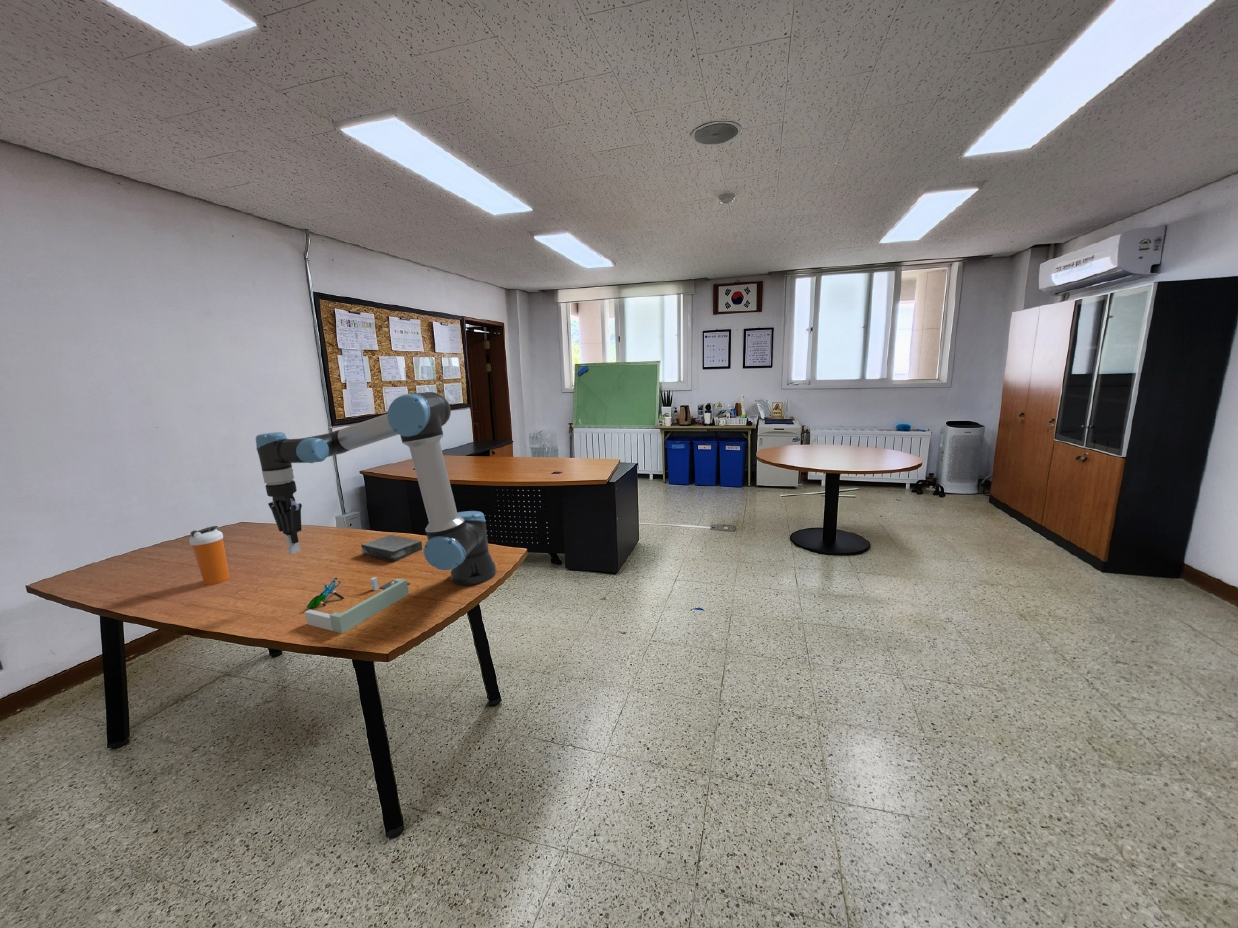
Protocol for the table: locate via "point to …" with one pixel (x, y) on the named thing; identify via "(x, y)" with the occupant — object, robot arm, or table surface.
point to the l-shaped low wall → (324, 619)
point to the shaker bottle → (210, 555)
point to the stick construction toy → (321, 596)
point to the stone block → (391, 548)
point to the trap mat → (389, 585)
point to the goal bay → (369, 607)
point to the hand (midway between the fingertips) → (294, 552)
